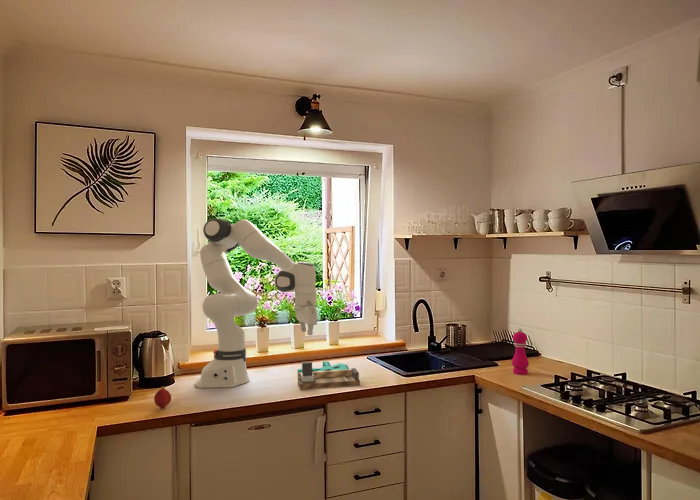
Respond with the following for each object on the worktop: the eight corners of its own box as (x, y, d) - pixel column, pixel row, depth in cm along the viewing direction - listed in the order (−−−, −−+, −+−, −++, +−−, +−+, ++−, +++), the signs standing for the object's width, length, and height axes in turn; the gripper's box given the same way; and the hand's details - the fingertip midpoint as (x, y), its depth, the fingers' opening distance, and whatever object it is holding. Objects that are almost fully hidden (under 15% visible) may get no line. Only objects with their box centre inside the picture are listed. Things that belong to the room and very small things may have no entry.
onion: (161, 412, 186) (160, 389, 186) (151, 409, 189) (150, 387, 189) (174, 407, 191) (174, 385, 191) (164, 405, 194) (163, 383, 194)
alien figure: (297, 374, 237) (331, 381, 225) (297, 369, 237) (331, 376, 225) (325, 365, 253) (358, 371, 241) (325, 361, 253) (358, 366, 241)
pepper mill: (511, 374, 230) (510, 329, 229) (512, 370, 236) (512, 326, 236) (528, 375, 227) (528, 330, 227) (529, 371, 234) (528, 327, 233)
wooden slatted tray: (300, 389, 212) (299, 377, 212) (297, 382, 222) (297, 371, 222) (360, 385, 217) (359, 373, 216) (355, 378, 226) (354, 367, 226)
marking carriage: (301, 382, 214) (301, 364, 214) (300, 378, 220) (300, 361, 220) (315, 381, 215) (315, 363, 215) (313, 377, 221) (313, 360, 221)
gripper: (320, 302, 208) (321, 336, 209) (306, 297, 228) (307, 329, 228) (305, 303, 206) (306, 337, 206) (292, 298, 225) (293, 330, 225)
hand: (306, 333), depth 217 cm, fingers open, 8 cm apart
